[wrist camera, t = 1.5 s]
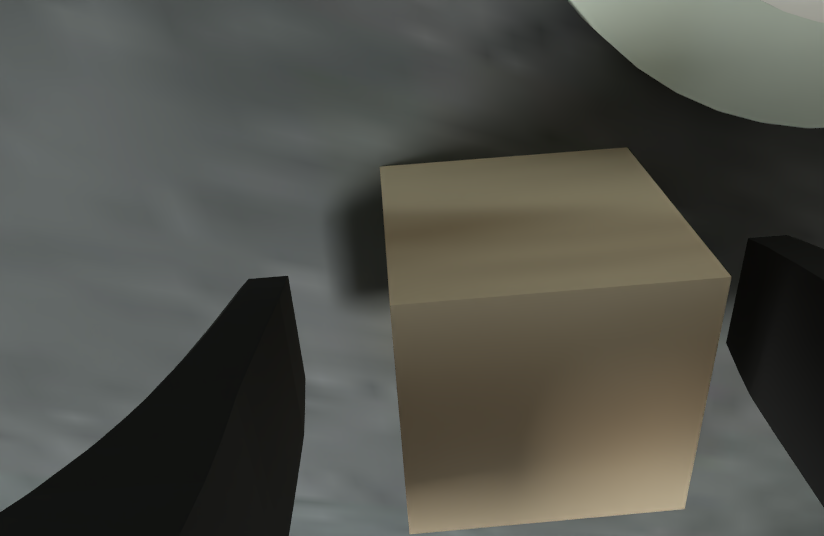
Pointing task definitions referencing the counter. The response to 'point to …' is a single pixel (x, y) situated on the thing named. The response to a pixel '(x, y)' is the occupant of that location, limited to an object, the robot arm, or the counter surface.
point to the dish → (725, 52)
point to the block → (546, 338)
